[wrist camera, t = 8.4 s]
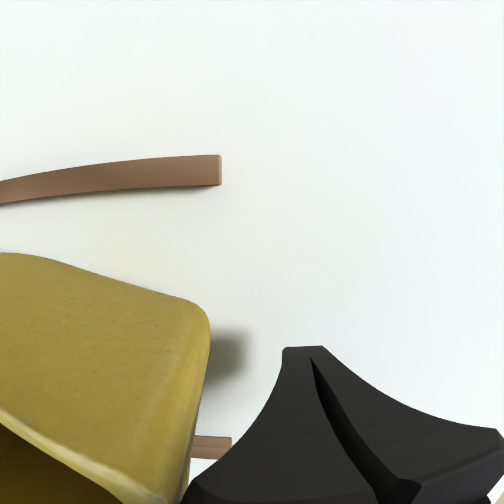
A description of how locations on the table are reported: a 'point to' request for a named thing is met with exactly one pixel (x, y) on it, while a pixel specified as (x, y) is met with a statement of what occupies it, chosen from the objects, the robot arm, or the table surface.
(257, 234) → the table surface
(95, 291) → the flower pot
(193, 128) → the table surface
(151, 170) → the brown wooden open-sided frame
